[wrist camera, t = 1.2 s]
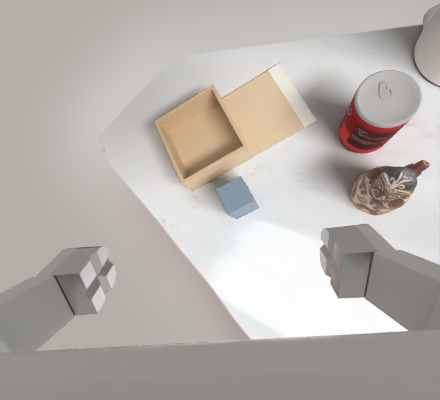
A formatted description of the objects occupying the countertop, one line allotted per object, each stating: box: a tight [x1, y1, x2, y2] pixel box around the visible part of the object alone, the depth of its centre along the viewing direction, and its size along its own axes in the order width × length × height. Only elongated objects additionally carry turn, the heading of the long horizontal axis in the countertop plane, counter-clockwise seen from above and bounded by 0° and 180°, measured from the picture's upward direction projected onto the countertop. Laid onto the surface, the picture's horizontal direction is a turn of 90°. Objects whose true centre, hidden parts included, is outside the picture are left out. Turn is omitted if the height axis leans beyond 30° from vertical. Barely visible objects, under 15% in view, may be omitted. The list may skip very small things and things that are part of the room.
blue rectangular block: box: [216, 176, 259, 219], centre depth 42 cm, size 4×4×8 cm
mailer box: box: [154, 64, 317, 190], centre depth 46 cm, size 26×14×6 cm, turn 116°
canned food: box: [339, 70, 422, 153], centre depth 37 cm, size 8×8×11 cm
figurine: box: [351, 160, 430, 215], centre depth 35 cm, size 7×7×12 cm
